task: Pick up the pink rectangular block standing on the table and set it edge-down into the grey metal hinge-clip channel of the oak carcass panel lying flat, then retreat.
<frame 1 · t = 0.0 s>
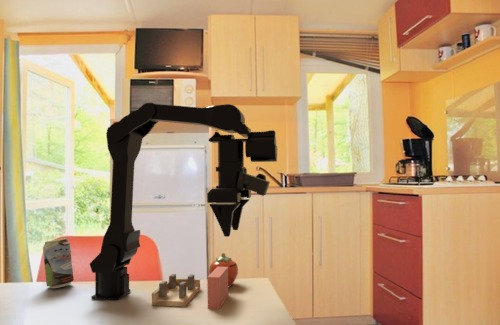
hand: (231, 233, 82), 15 cm above the table, fingers open, 9 cm apart
pink rectangular block: (218, 301, 81), on the table
carcass: (177, 296, 84), on the table
printed carton: (58, 287, 93), on the table
tomato: (223, 285, 93), on the table
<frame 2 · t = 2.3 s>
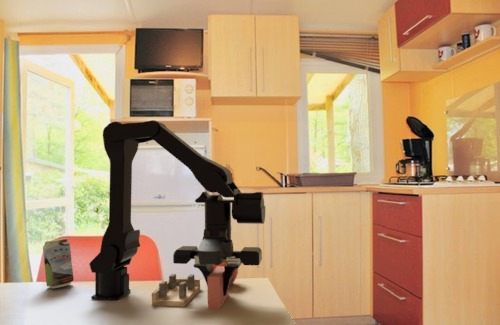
hand: (218, 295, 81), 1 cm above the table, fingers closed on pink rectangular block, 2 cm apart
pink rectangular block: (218, 301, 81), on the table, touching gripper
everything else where it was.
when the fingers open (4 cm above the table, at t = 4.9 s): pink rectangular block drops 2 cm, resting on carcass.
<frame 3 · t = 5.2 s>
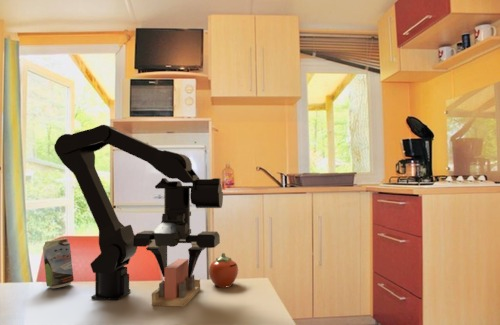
hand: (177, 277, 85), 4 cm above the table, fingers open, 6 cm apart
pink rectangular block: (177, 292, 84), point 1 cm above the table, touching carcass
everything else where it was.
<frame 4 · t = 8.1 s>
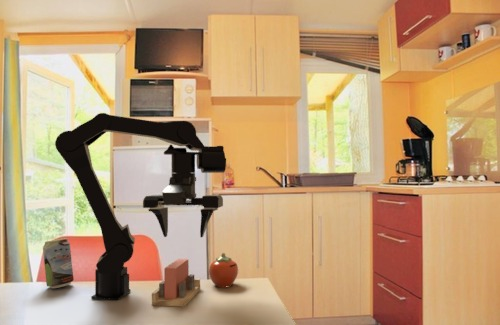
hand: (183, 236, 91), 12 cm above the table, fingers open, 9 cm apart
nothing on the table moved.
at the end: pink rectangular block 0.1 cm off-centre on the carcass, point 1.0 cm above the carcass's base; pink rectangular block tilted 0°; the gripper is holding nothing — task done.
